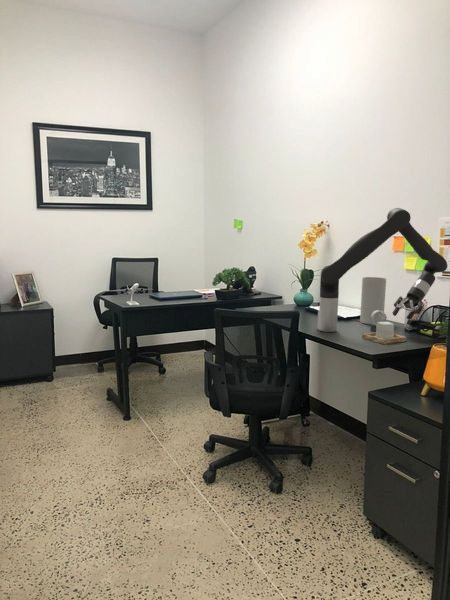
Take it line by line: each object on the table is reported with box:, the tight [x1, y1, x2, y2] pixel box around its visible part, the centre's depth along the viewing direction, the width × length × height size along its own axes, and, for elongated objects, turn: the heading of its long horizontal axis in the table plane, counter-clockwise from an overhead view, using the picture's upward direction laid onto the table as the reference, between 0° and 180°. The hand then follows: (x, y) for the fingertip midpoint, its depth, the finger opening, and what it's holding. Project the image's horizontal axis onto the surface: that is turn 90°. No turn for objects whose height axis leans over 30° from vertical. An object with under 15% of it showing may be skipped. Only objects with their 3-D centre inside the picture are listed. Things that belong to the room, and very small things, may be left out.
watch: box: [370, 310, 388, 333], centre depth 245 cm, size 6×8×11 cm
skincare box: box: [376, 321, 395, 339], centre depth 227 cm, size 6×6×7 cm
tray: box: [361, 332, 407, 345], centre depth 228 cm, size 14×14×2 cm
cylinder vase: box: [359, 276, 387, 326], centre depth 267 cm, size 12×12×25 cm
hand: (400, 316), depth 233 cm, fingers open, 8 cm apart
